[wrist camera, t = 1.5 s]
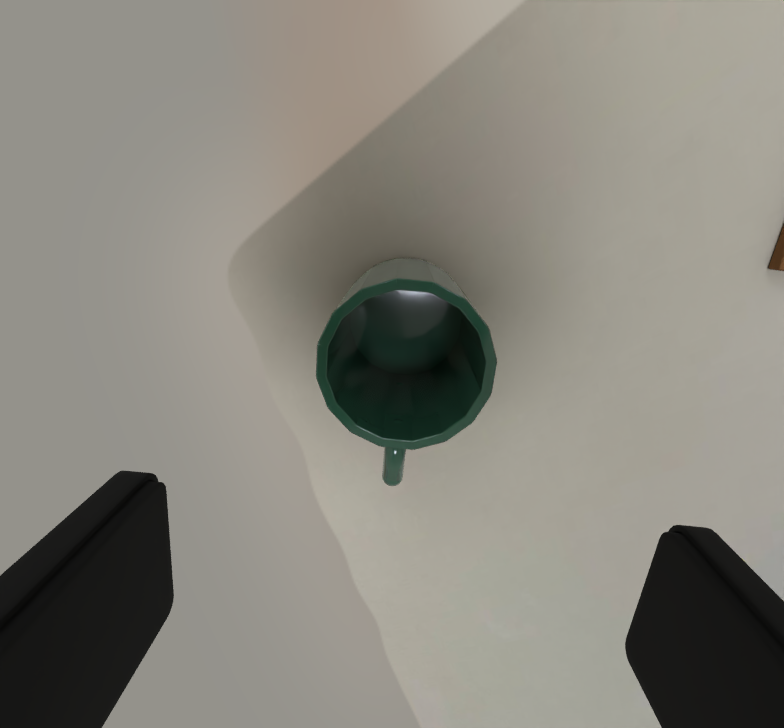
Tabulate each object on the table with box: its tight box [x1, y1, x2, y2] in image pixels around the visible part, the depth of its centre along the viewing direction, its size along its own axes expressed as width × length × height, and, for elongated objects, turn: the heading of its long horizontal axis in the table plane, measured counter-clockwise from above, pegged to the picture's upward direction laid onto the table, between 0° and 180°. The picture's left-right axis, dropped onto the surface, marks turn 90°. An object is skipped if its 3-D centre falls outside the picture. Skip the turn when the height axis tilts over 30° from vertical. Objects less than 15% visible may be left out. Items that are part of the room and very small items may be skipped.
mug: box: [316, 258, 497, 486], centre depth 23 cm, size 10×7×9 cm
